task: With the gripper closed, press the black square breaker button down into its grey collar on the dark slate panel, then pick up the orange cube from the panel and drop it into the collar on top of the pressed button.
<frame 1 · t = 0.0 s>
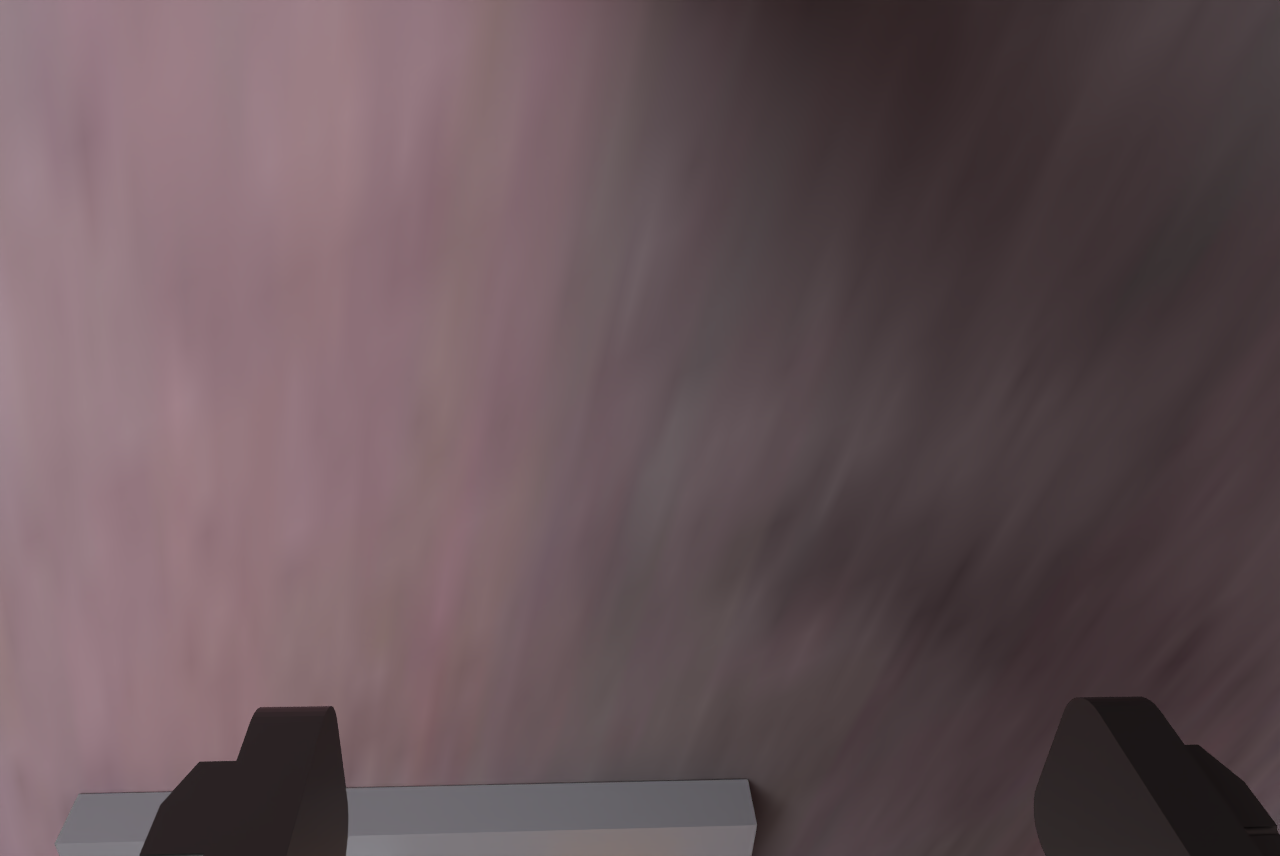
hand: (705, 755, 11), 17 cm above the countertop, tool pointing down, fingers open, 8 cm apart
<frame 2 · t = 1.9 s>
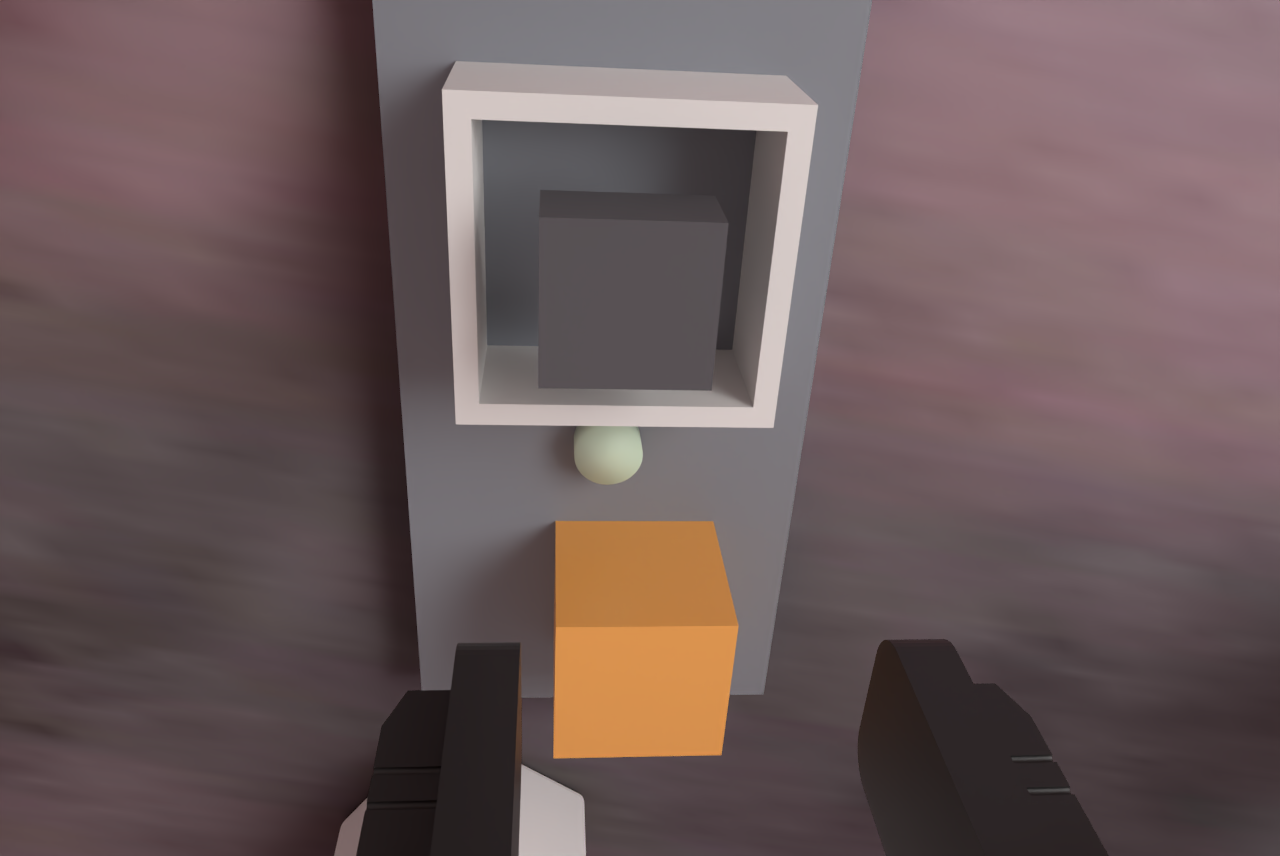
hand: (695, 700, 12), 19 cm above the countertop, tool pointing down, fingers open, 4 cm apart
medicine bottle: (464, 803, 40), on the countertop
breaker button: (627, 291, 23), point 7 cm above the countertop, slide at 0.0 cm
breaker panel: (605, 364, 31), on the countertop
orange cube: (631, 583, 33), point 2 cm above the countertop, touching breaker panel
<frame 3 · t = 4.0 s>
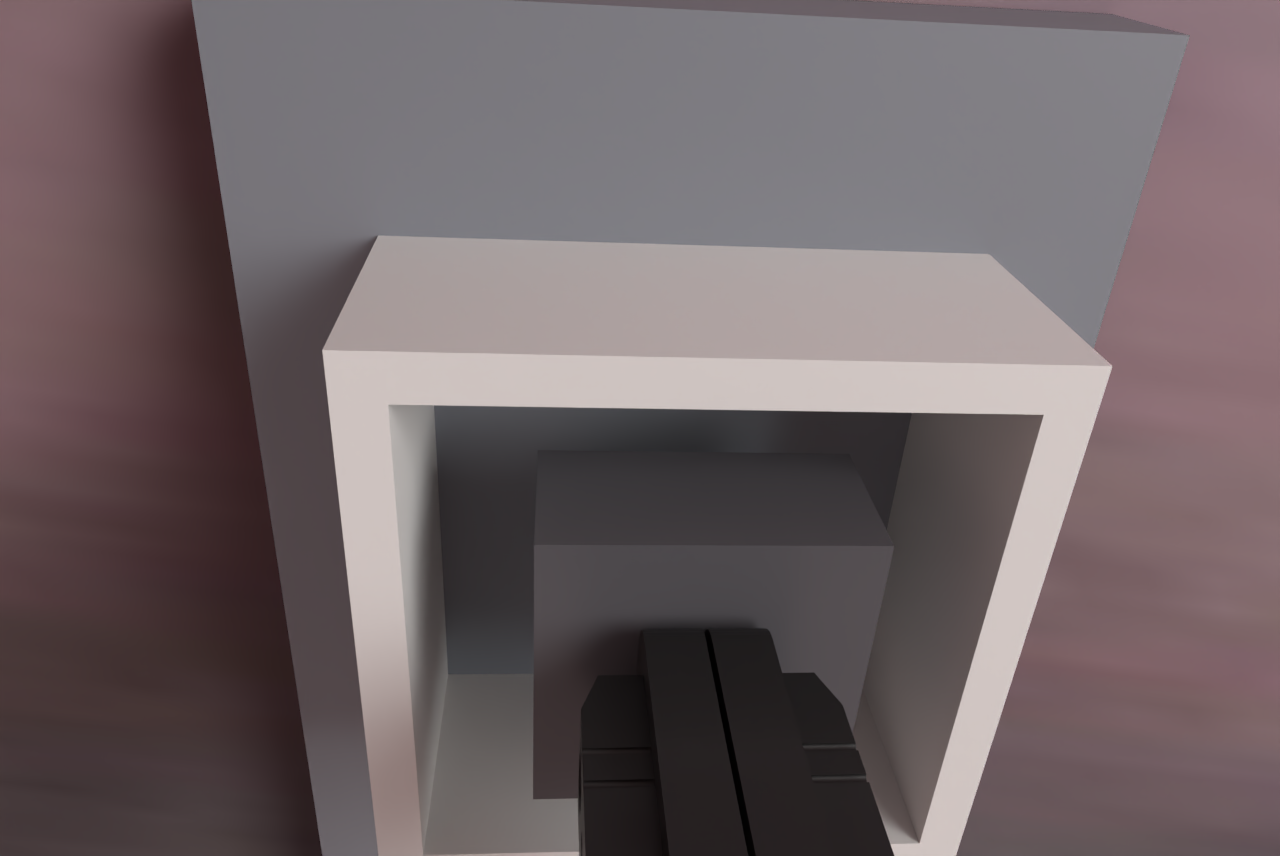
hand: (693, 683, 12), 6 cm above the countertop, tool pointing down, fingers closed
breaker button: (691, 625, 13), point 5 cm above the countertop, slide at 1.7 cm, touching gripper
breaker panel: (642, 658, 19), on the countertop
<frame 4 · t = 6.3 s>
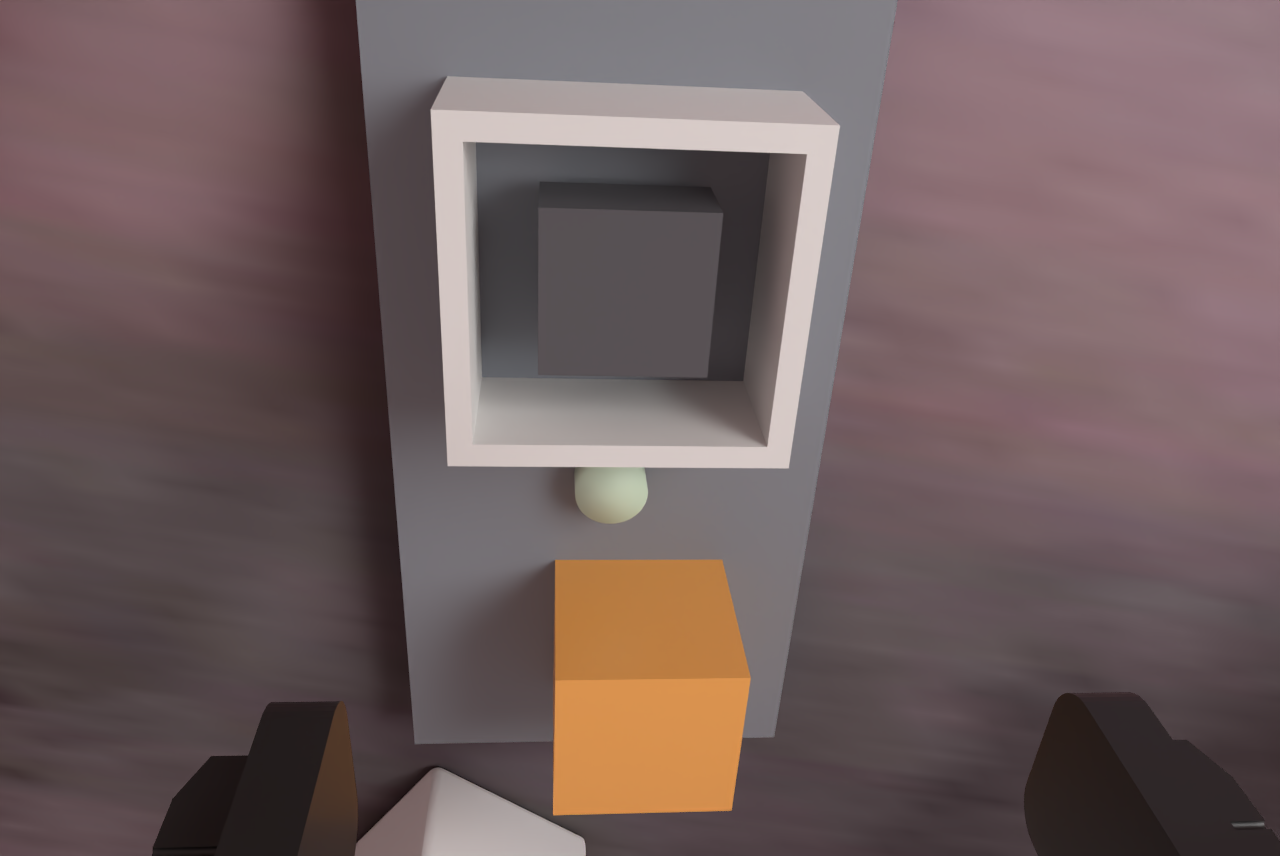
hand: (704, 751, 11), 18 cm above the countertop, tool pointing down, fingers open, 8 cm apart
medicine bottle: (459, 846, 39), on the countertop
breaker button: (624, 280, 23), point 4 cm above the countertop, slide at 2.7 cm
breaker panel: (608, 394, 29), on the countertop
orange cube: (634, 624, 31), point 2 cm above the countertop, touching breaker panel
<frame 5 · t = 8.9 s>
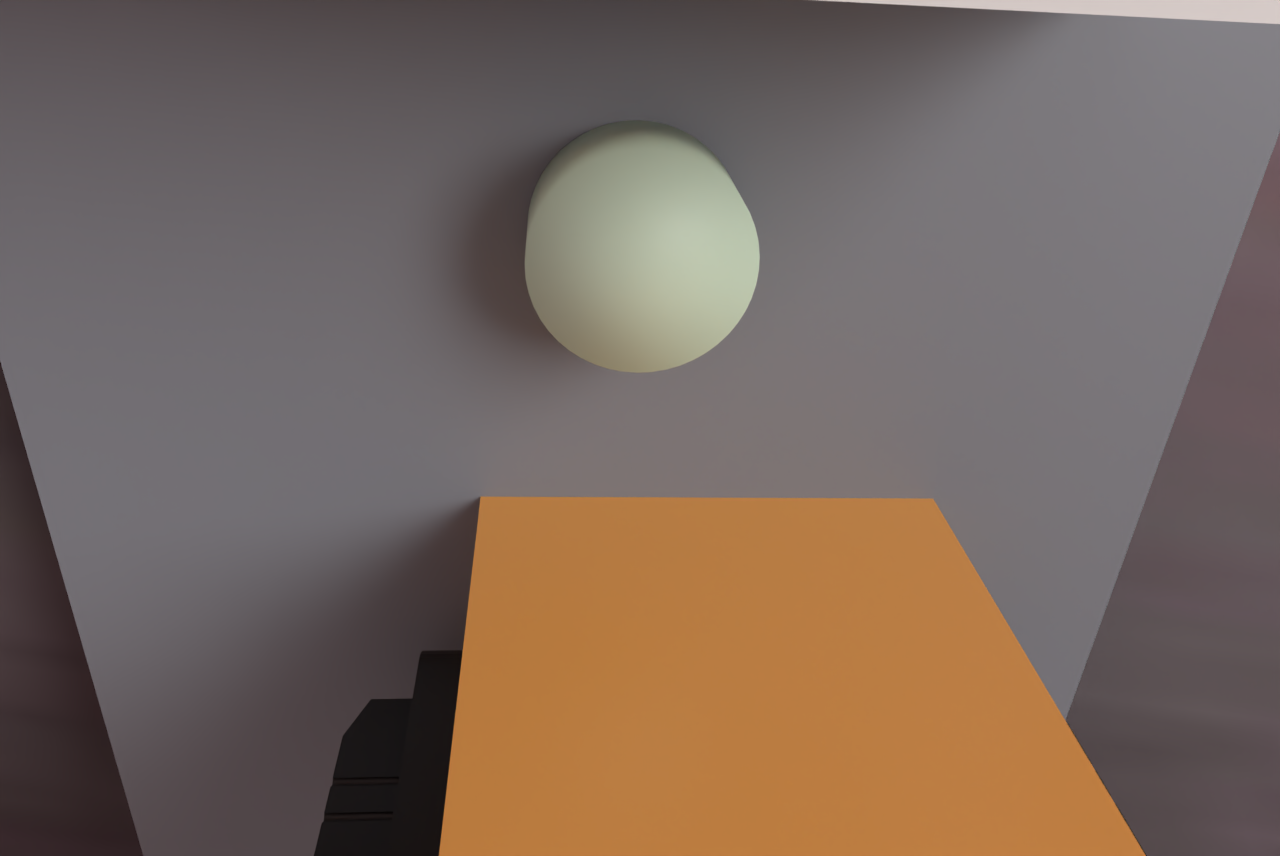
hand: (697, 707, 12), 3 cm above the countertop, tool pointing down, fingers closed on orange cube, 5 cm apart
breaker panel: (628, 27, 10), on the countertop
orange cube: (693, 669, 12), point 2 cm above the countertop, touching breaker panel, gripper
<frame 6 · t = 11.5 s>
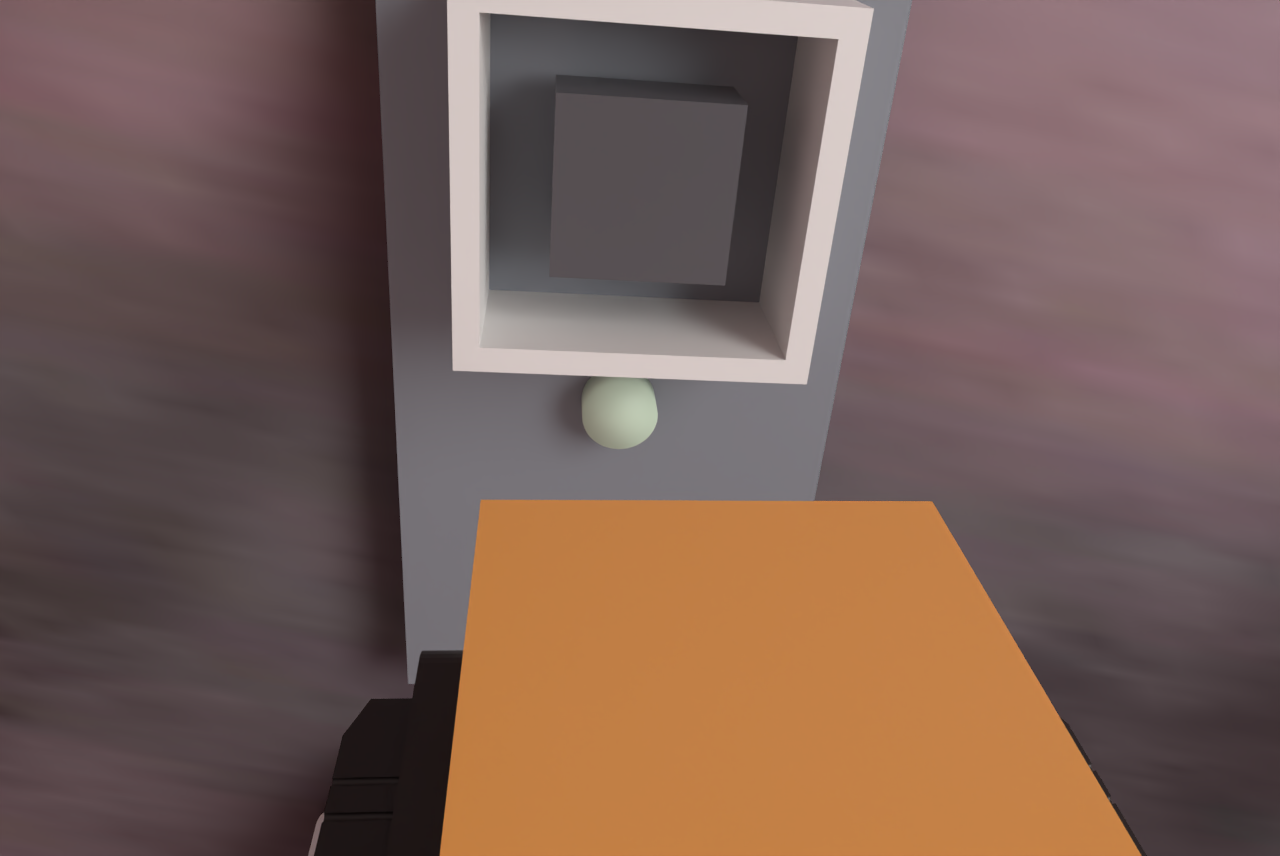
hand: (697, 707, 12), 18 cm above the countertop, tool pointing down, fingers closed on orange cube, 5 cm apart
medicine bottle: (450, 799, 38), on the countertop
breaker button: (641, 181, 22), point 4 cm above the countertop, slide at 2.7 cm
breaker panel: (618, 319, 28), on the countertop
orange cube: (692, 671, 12), point 17 cm above the countertop, touching gripper
when the fingers open (7 cm above the countertop, at t = 14.2 s): orange cube drops 2 cm, resting on breaker button.
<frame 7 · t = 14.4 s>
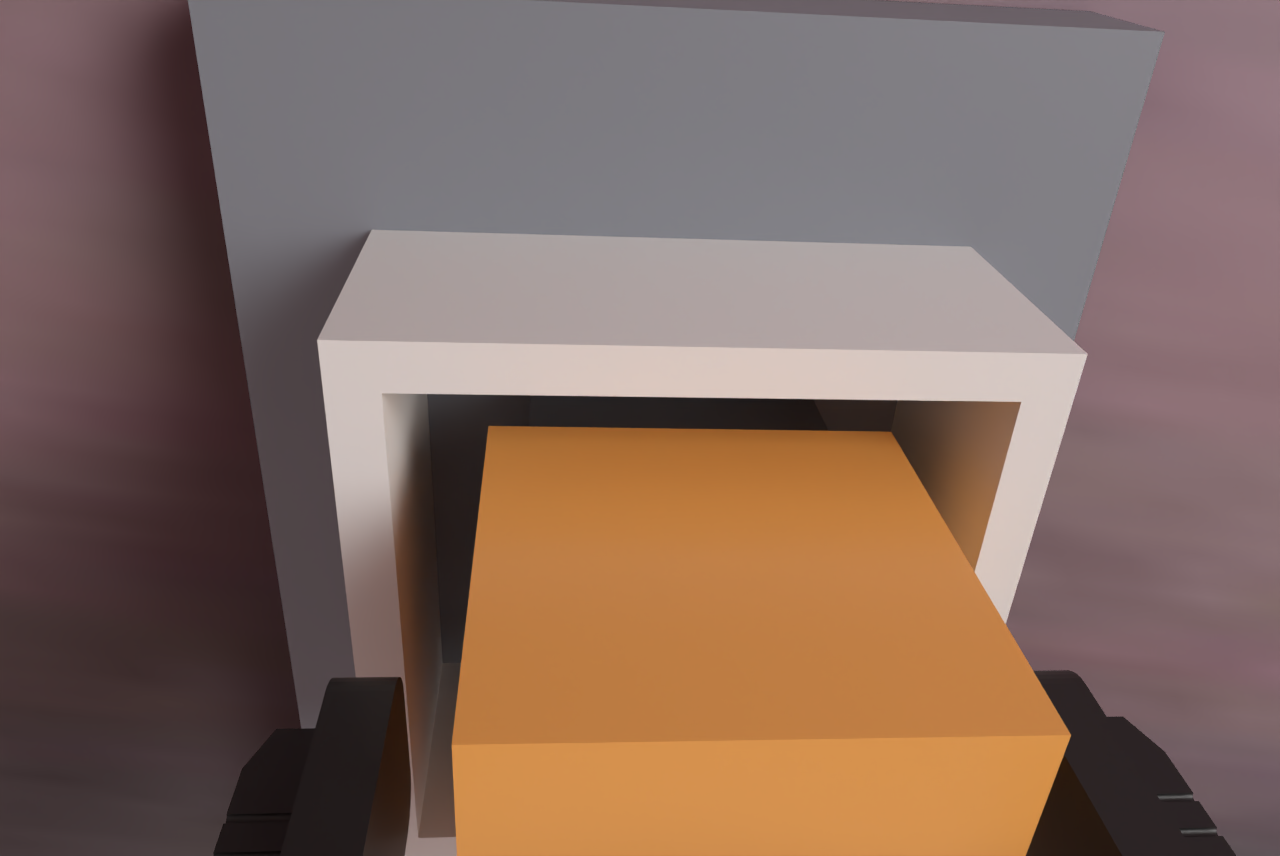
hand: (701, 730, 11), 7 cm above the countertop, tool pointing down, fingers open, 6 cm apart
breaker button: (669, 544, 14), point 3 cm above the countertop, slide at 3.1 cm, touching orange cube
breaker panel: (634, 647, 20), on the countertop
orange cube: (677, 589, 13), point 4 cm above the countertop, touching breaker button
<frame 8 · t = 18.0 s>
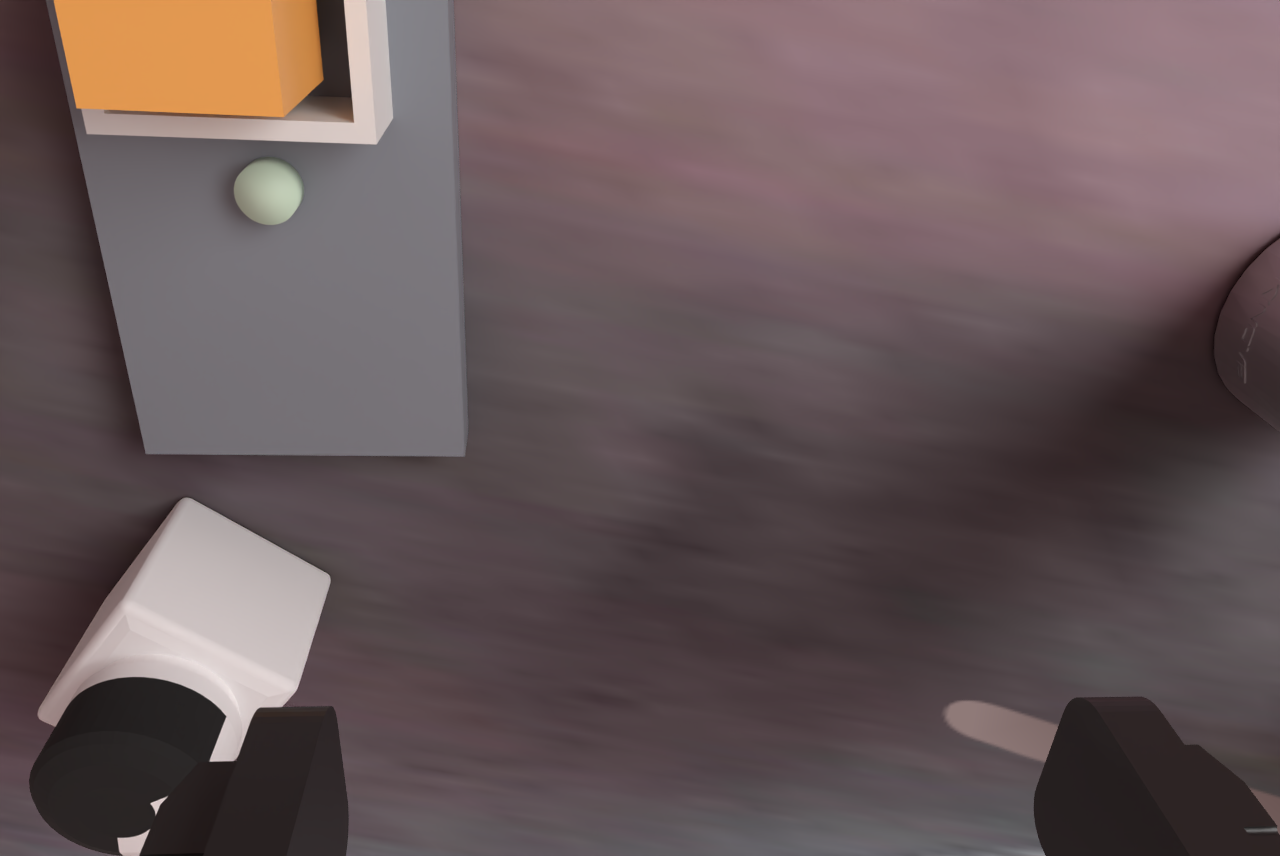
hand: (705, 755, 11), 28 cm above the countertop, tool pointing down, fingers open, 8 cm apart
medicine bottle: (221, 583, 44), on the countertop
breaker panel: (281, 127, 34), on the countertop
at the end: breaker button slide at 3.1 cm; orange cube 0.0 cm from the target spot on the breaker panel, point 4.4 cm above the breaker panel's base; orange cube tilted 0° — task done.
